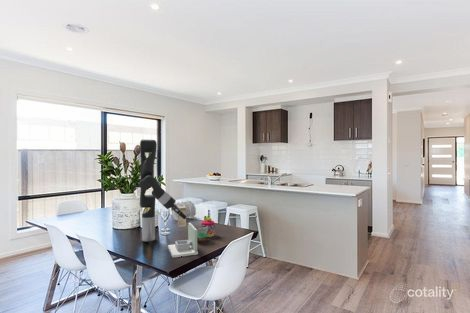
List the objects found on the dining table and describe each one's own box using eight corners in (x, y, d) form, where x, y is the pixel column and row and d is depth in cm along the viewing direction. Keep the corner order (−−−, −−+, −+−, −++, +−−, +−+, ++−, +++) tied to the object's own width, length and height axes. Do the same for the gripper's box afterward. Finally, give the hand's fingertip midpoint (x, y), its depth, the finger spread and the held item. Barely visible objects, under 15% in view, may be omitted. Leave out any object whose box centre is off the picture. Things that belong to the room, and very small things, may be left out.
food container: (196, 244, 192) (196, 230, 192) (192, 241, 197) (192, 228, 197) (211, 240, 199) (211, 227, 199) (207, 238, 204) (207, 225, 204)
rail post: (177, 225, 180) (178, 207, 180) (184, 224, 181) (184, 206, 181) (179, 226, 175) (179, 208, 175) (186, 226, 177) (186, 207, 177)
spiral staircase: (195, 221, 272) (175, 225, 253) (185, 211, 283) (165, 214, 263) (201, 206, 268) (181, 208, 249) (191, 196, 278) (171, 198, 259)
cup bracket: (167, 247, 185) (167, 224, 185) (191, 244, 191) (191, 222, 191) (172, 257, 167) (172, 232, 166) (198, 254, 172) (198, 229, 172)
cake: (217, 235, 213) (217, 216, 213) (207, 238, 205) (207, 218, 205) (208, 232, 220) (208, 214, 220) (198, 235, 212) (198, 216, 212)
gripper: (172, 197, 169) (191, 215, 173) (169, 194, 182) (186, 210, 187) (163, 206, 167) (182, 224, 172) (160, 202, 180) (179, 219, 185)
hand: (184, 217), depth 179 cm, fingers closed on rail post, 4 cm apart
